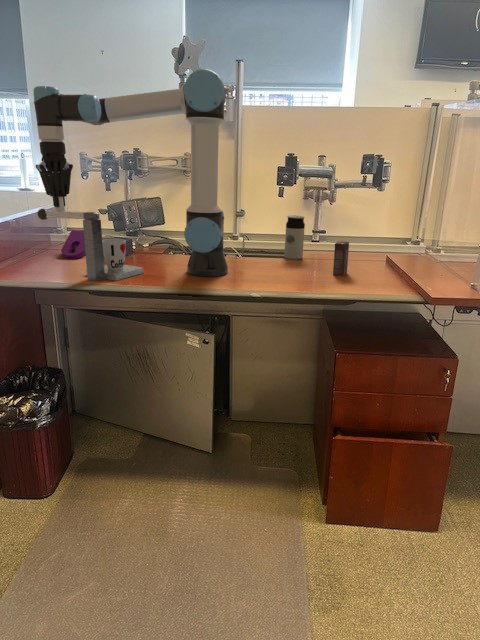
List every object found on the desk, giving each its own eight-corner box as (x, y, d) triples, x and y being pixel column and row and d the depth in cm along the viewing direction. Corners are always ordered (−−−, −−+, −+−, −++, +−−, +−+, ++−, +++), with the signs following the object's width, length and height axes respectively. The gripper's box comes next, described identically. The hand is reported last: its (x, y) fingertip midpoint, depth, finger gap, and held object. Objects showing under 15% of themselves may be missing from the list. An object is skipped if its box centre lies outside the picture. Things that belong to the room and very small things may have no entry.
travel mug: (293, 255, 207) (295, 214, 202) (306, 258, 202) (309, 216, 196) (280, 257, 203) (282, 215, 197) (293, 260, 197) (296, 217, 191)
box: (335, 271, 178) (338, 240, 174) (347, 273, 176) (350, 241, 172) (331, 275, 173) (334, 242, 169) (343, 276, 171) (346, 244, 167)
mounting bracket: (85, 272, 193) (97, 246, 206) (80, 255, 187) (93, 230, 200) (63, 271, 193) (76, 246, 206) (57, 255, 187) (71, 230, 200)
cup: (109, 272, 160) (107, 243, 156) (99, 267, 166) (97, 239, 162) (130, 269, 165) (129, 241, 161) (120, 265, 170) (119, 238, 167)
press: (143, 273, 168) (141, 217, 162) (107, 283, 153) (102, 222, 147) (115, 268, 175) (111, 214, 168) (77, 277, 160) (72, 218, 153)
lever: (101, 220, 154) (101, 209, 153) (96, 222, 149) (96, 211, 148) (41, 218, 155) (40, 207, 153) (35, 220, 150) (33, 209, 149)
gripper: (60, 141, 153) (68, 214, 161) (26, 140, 143) (36, 218, 151) (76, 141, 149) (83, 215, 157) (42, 140, 139) (52, 219, 147)
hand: (60, 216), depth 154 cm, fingers closed
